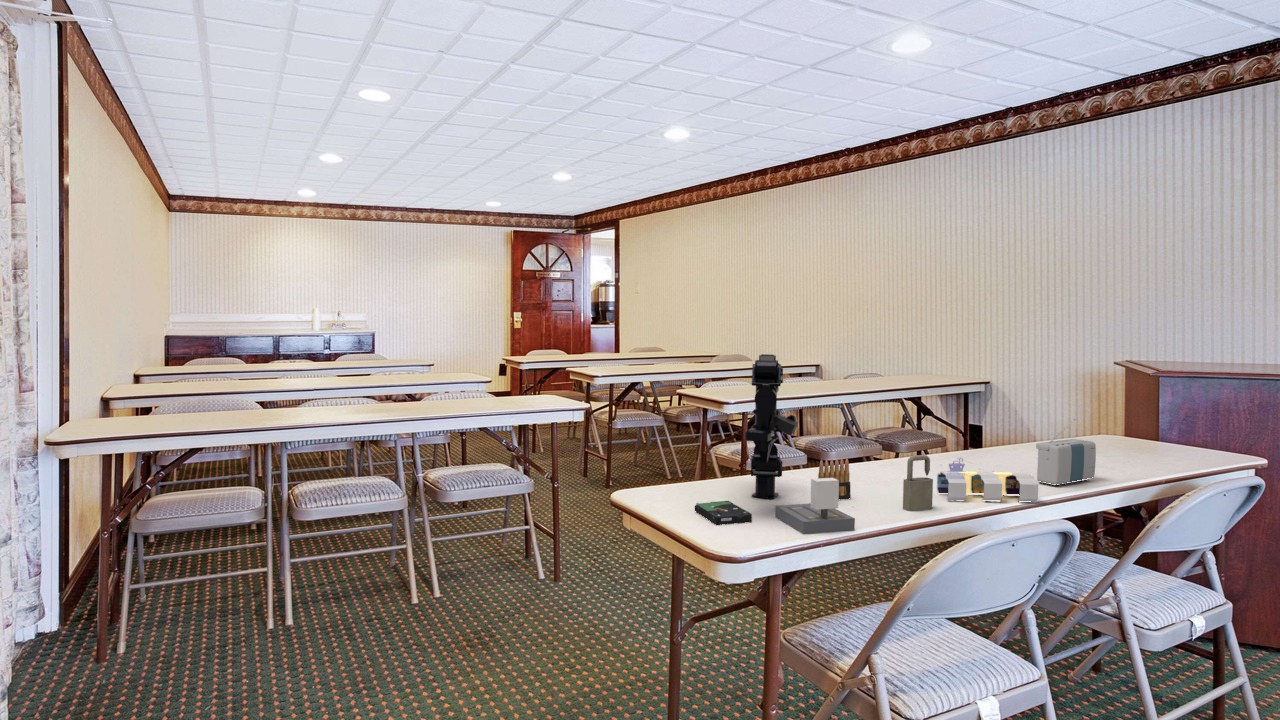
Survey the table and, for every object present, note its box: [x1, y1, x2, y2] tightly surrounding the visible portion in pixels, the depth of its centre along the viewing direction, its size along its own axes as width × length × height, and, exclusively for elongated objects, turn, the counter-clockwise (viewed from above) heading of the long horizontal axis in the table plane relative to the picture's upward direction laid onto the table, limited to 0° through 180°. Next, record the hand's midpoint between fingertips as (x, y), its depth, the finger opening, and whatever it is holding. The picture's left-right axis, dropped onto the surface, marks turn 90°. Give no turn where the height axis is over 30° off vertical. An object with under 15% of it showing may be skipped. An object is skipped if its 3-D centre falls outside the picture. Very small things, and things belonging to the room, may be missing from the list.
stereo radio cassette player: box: [1035, 418, 1097, 485], centre depth 241 cm, size 21×8×20 cm, turn 119°
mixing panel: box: [774, 503, 856, 535], centre depth 190 cm, size 16×14×3 cm
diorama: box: [936, 457, 1039, 503], centre depth 218 cm, size 25×10×13 cm, turn 86°
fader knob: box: [810, 478, 839, 517], centre depth 185 cm, size 3×6×9 cm, turn 105°
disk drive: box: [694, 500, 753, 526], centre depth 197 cm, size 10×3×15 cm
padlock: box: [902, 454, 934, 512], centre depth 206 cm, size 4×8×15 cm, turn 111°
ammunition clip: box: [817, 457, 852, 501], centre depth 216 cm, size 11×2×12 cm, turn 111°
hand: (765, 462), depth 203 cm, fingers closed
